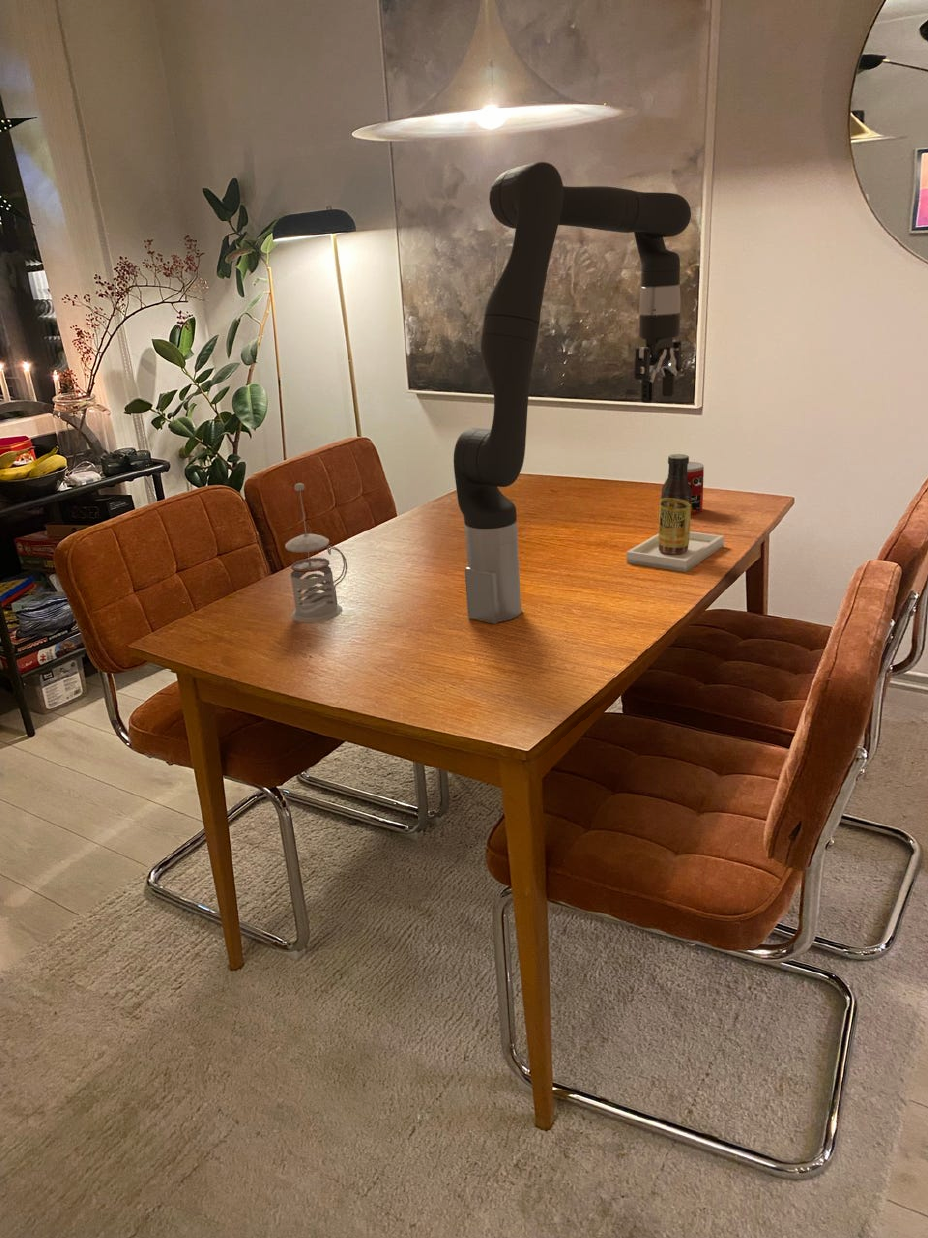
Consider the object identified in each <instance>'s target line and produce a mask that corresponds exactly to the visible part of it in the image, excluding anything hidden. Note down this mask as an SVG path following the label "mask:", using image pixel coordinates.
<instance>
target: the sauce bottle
mask: <svg viewBox="0 0 928 1238" xmlns="http://www.w3.org/2000/svg"><path fill="white" fill-rule="evenodd" d="M689 462H690V456H689V455H687V454H681V453H673V454H669V455H668V457H667V464H668V469H667V470H668V473H667V477H666V479H665V482H664V483H663V485H662V487H661V495H660V501H659V502H660V503H659V518H658V520H659V521H658V533H659V534H658V533H657V534H658V543H659V545H658V548H659V551H661V552H663V553H666V554H682V553H684V552H686V551H687V550H688V545H689V537H690V531H691V516H692V515H691V505H692V502H691V497H692V489H691V487H690V485H689V483H688V481H687V467H688V463H689Z"/></svg>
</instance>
